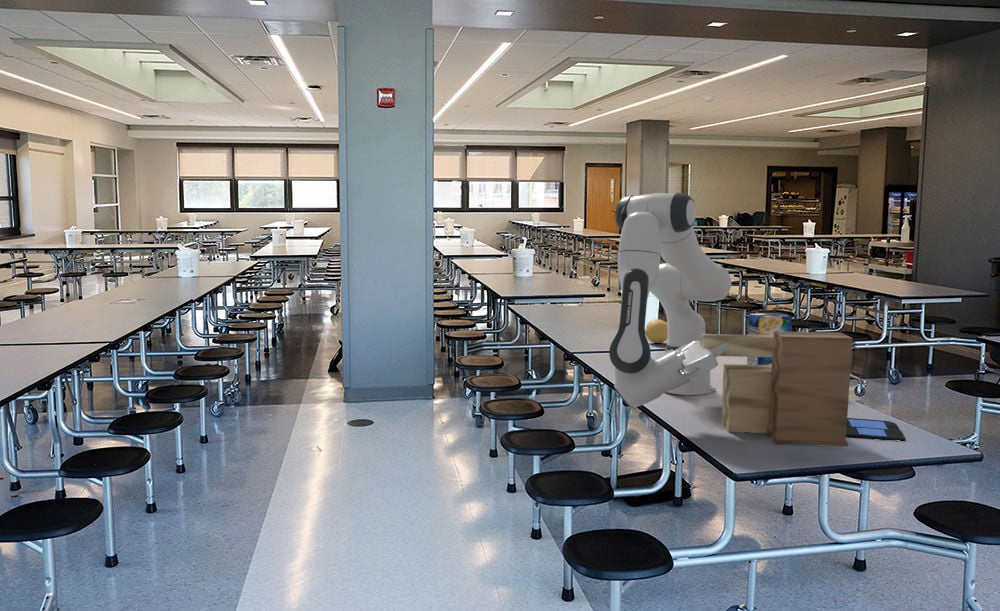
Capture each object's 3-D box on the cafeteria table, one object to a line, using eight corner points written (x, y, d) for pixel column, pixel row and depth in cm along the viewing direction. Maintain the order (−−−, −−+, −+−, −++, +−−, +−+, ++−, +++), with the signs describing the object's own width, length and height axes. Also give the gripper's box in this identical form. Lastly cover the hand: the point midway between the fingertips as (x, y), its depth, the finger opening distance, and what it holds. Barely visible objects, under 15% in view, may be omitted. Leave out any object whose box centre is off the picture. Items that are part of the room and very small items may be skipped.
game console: (842, 439, 192) (842, 430, 191) (834, 424, 204) (835, 416, 204) (906, 444, 188) (907, 435, 188) (894, 429, 200) (895, 420, 200)
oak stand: (721, 422, 204) (724, 358, 202) (807, 424, 202) (811, 360, 200) (728, 432, 195) (731, 365, 193) (818, 434, 193) (822, 367, 191)
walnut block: (766, 434, 194) (771, 331, 190) (835, 436, 192) (842, 332, 189) (775, 444, 185) (780, 337, 182) (847, 446, 184) (854, 338, 181)
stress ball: (664, 348, 312) (679, 331, 315) (650, 330, 310) (664, 313, 313) (650, 348, 321) (664, 331, 324) (636, 331, 319) (650, 314, 322)
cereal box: (745, 381, 251) (748, 313, 249) (776, 379, 253) (780, 313, 251) (756, 385, 245) (759, 316, 242) (788, 384, 247) (791, 316, 244)
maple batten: (700, 352, 199) (701, 333, 199) (780, 354, 198) (781, 335, 197) (702, 355, 196) (703, 336, 195) (784, 357, 194) (785, 337, 194)
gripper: (676, 366, 188) (727, 339, 186) (665, 350, 208) (712, 326, 207) (688, 388, 189) (740, 361, 187) (676, 371, 209) (723, 346, 207)
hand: (725, 343), depth 197 cm, fingers closed on maple batten, 3 cm apart
